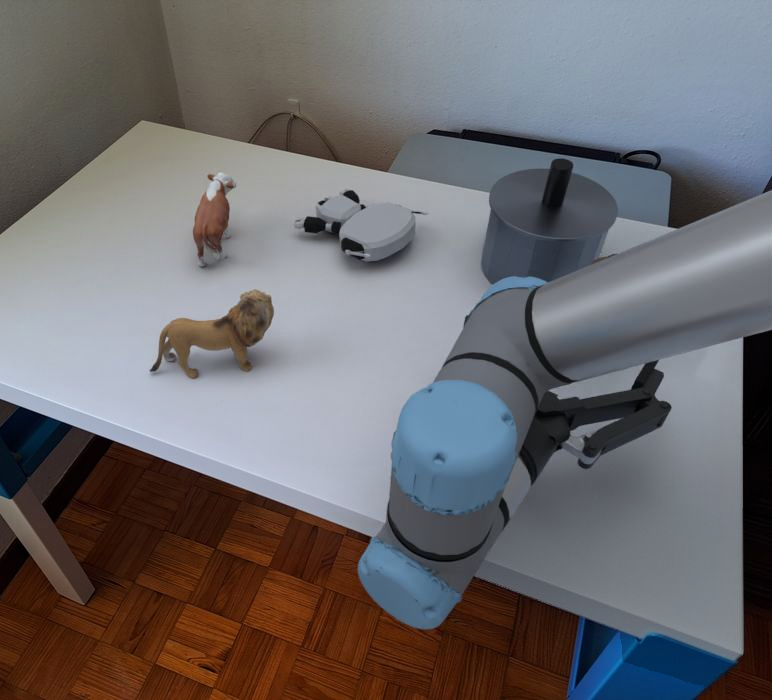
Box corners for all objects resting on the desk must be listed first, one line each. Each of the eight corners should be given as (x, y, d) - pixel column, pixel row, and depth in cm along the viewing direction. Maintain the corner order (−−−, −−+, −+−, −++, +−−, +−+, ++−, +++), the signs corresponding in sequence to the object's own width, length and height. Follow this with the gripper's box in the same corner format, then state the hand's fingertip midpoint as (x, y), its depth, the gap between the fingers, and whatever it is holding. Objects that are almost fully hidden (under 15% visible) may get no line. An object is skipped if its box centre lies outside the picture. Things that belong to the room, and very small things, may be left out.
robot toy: (289, 242, 95) (373, 282, 86) (285, 214, 92) (372, 253, 83) (347, 204, 101) (431, 238, 92) (346, 176, 97) (432, 209, 89)
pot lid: (633, 200, 82) (650, 154, 78) (585, 263, 74) (601, 216, 70) (520, 163, 89) (530, 119, 84) (465, 218, 81) (473, 172, 76)
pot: (607, 259, 88) (629, 196, 82) (563, 318, 81) (584, 254, 74) (510, 223, 95) (523, 162, 88) (462, 275, 87) (472, 213, 80)
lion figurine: (272, 333, 81) (267, 275, 75) (282, 365, 77) (277, 306, 71) (148, 359, 79) (131, 301, 72) (153, 393, 75) (135, 335, 69)
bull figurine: (245, 216, 98) (239, 165, 92) (221, 276, 89) (213, 224, 83) (215, 214, 99) (207, 163, 93) (189, 273, 89) (179, 221, 84)
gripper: (369, 419, 67) (475, 301, 78) (624, 565, 55) (705, 402, 67) (372, 367, 61) (485, 248, 72) (655, 517, 50) (737, 348, 61)
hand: (591, 321), depth 69 cm, fingers open, 13 cm apart
